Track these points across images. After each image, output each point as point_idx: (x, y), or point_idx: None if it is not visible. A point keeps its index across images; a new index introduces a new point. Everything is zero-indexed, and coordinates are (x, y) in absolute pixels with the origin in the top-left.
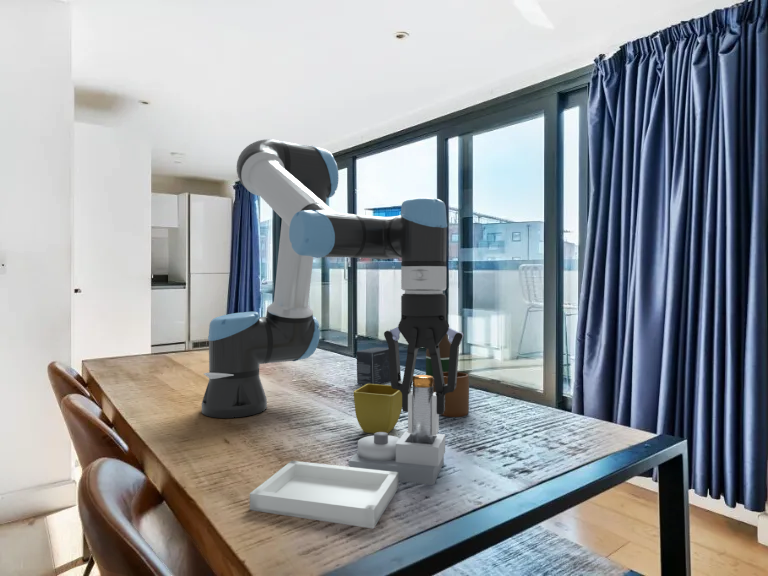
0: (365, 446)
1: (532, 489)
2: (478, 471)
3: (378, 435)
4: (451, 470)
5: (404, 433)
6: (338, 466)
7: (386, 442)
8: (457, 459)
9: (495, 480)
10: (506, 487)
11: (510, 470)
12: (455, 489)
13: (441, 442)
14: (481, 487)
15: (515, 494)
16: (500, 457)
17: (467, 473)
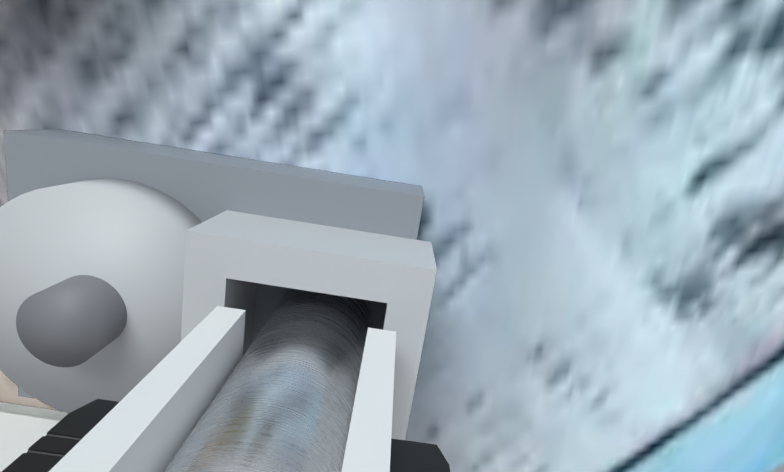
0: (34, 377)
1: (737, 405)
2: (566, 264)
3: (51, 353)
4: (453, 265)
5: (188, 280)
6: (3, 456)
7: (120, 331)
8: (487, 130)
9: (618, 344)
10: (645, 398)
11: (708, 237)
12: (460, 429)
13: (413, 391)
14: (554, 406)
15: (662, 447)
16: (707, 74)
17: (517, 289)
